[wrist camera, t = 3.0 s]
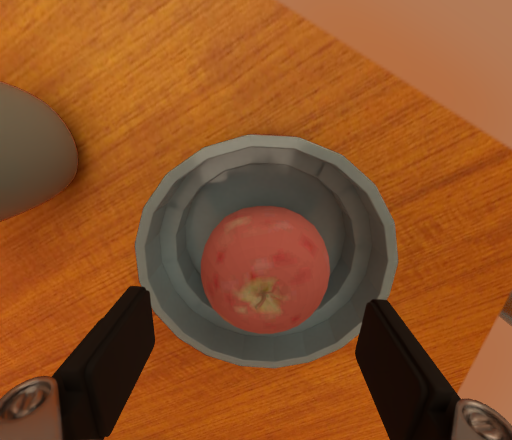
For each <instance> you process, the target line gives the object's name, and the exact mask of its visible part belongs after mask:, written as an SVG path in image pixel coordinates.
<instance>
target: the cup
mask: <svg viewBox="0 0 512 440" xmlns="http://www.w3.org/2000/svg"><path fill="white" fill-rule="evenodd" d="M78 164H79V157H78V150H77V146H76V143H75V140H74V138H73V136H72V133H71V132H70V130H69V128H68V127H67V125H66V123H65V122H64V121H63V120H62V118H61V117H60V116H59V115H58V114H57V113H56V112H55V111H54V110H53V109H52V108H51V107H50V106H49V105H47V104H46V103H45V102H44V101H42V100H40V99H39V98H37V97H36V96H34V95H32V94H31V93H29V92H27V91H25V90H22V89H20V88H18V87H15V86H12V85H10V84H7V83H4V82H2V81H0V222H1V221H4V220H7V219H9V218H12V217H14V216H17V215H19V214H22V213H24V212H26V211H28V210H31V209H33V208H35V207H37V206H39V205H42V204H43V203H45V202H47V201H49V200H51V199H52V198H54V197H55V196H57V195H58V194H60V193H61V192H62V191H63V190H65V189H66V188H67V187H68V186H69V184H70V183H71V182H72V181H73V179H74V177H75V175H76V172H77V170H78Z"/></svg>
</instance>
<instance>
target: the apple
mask: <svg viewBox="0 0 512 440" xmlns="http://www.w3.org/2000/svg"><path fill="white" fill-rule="evenodd" d="M329 275H330V265H329V256H328V252H327V249H326V246H325V243H324V240H323V239H322V237H321V236H320V234H319V232H318V231H317V229H316V228H315V226H314V225H313V224H311V223H310V222H309V221H308V220H306V219H305V218H304V217H303V216H301V215H300V214H298V213H296V212H293V211H291V210H289V209H286V208H284V207H276V206H255V207H248V208H243V209H240V210H238V211H236V212H234V213H232V214H229V215H227V216H226V217H225V218H224V219H223V220H222V221H221V222H220V223H219V224H218V225H217V226H216V227H215V229H214V230H213V231H212V233H211V234H210V236H209V238H208V240H207V242H206V244H205V247H204V251H203V255H202V259H201V280H202V284H203V288H204V292H205V294H206V297H207V298H208V300H209V302H210V304H211V306H212V308H213V309H214V310H215V311H216V312H217V313H218V314H219V315H220V316H221V317H222V318H223V319H224V320H225V321H227V322H228V323H230V324H232V325H233V326H235V327H237V328H240V329H242V330H245V331H248V332H253V333H258V334H273V333H278V332H283V331H287V330H289V329H291V328H294V327H296V326H298V325H300V324H301V323H302V322H304V321H305V320H306V319H308V318H309V317H310V316H311V315H312V314H313V312H314V311H315V310H316V309H317V307H318V306H319V305H320V303H321V301H322V299H323V296H324V294H325V292H326V290H327V287H328V281H329Z"/></svg>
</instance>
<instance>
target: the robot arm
mask: <svg viewBox="0 0 512 440" xmlns="http://www.w3.org/2000/svg"><path fill="white" fill-rule="evenodd" d="M154 344H155V335H154V326H153V317H152V308H151V299H150V292H149V291H148V290H146V288H145V287H139V286H130V287H129V288H128V289H127V290H126V291H125V293H124V294H123V295H122V296H121V297H120V299H119V300H118V301H117V302H116V303H115V304H114V306H113V307H112V308H111V309H110V310H109V312H108V313H107V314H106V315H105V316H104V318H102V319H101V320H100V321H99V322H98V323H97V324H96V325H95V326H94V327H93V329H92V330H91V331H90V332H89V333H88V334H87V336H86V337H85V338H84V339H83V340H82V342H81V343H80V344H79V345H78V346H77V347H76V349H75V350H74V351H73V352H72V353H71V354H70V356H69V357H68V358H67V359H66V360H65V362H64V363H63V364H62V365H61V366H60V367H59V369H58V370H57V371H56V372H55V373H54V374H53V376H52V377H50V376H40V377H35V378H32V379H29V380H26V381H24V382H22V383H21V384H19V385H17V386H15V387H14V388H13V389H11V390H10V391H8V392H7V393H6V394H5V395H4V396H3V397H2V398H1V399H0V440H103V439H104V437H108V436H109V435H110V434H111V432H112V430H113V428H114V426H115V424H116V422H117V420H118V418H119V416H120V414H121V412H122V410H123V408H124V406H125V404H126V402H127V400H128V398H129V396H130V394H131V392H132V390H133V388H134V386H135V384H136V382H137V380H138V378H139V376H140V374H141V372H142V370H143V368H144V366H145V364H146V362H147V360H148V358H149V356H150V354H151V352H152V350H153V347H154ZM355 355H356V359H357V362H358V364H359V367H360V369H361V371H362V374H363V376H364V379H365V381H366V383H367V386H368V388H369V391H370V393H371V395H372V398H373V400H374V403H375V405H376V407H377V410H378V412H379V415H380V417H381V419H382V422H383V424H384V427H385V429H386V431H387V434H388V436H389V439H390V440H512V426H511V424H510V423H509V422H508V421H507V420H506V419H505V418H504V417H503V416H501V415H500V414H499V413H498V412H497V411H495V410H494V409H492V408H490V407H489V406H487V405H486V404H483V403H481V402H479V401H476V400H472V399H460V397H459V396H458V395H457V393H456V392H455V390H454V389H453V388H452V386H451V385H450V384H449V382H448V381H447V380H446V378H445V377H444V376H443V374H442V373H441V372H440V370H439V369H438V368H437V366H436V365H435V364H434V362H433V361H432V359H431V358H430V357H429V355H428V354H427V353H426V351H425V350H424V349H423V347H422V346H421V345H420V343H419V342H418V341H417V339H416V338H415V337H414V335H413V334H412V333H411V331H410V330H409V329H408V327H407V326H406V325H405V323H404V322H403V320H402V319H401V318H400V316H399V315H398V314H397V312H396V311H395V310H394V308H393V307H392V306H391V304H390V303H389V302H388V301H387V300H382V299H372V300H371V301H370V302H368V303H367V304H366V308H365V312H364V316H363V320H362V324H361V329H360V333H359V337H358V341H357V345H356V350H355Z"/></svg>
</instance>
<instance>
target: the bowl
mask: <svg viewBox="0 0 512 440" xmlns="http://www.w3.org/2000/svg"><path fill="white" fill-rule="evenodd" d="M255 206H276V207H284V208H286V209H289V210H291V211H293V212H296V213H298V214H300V215H301V216H303V217H304V218H305V219H306V220H308V221H309V222H310V223H311V224H313V225H314V226H315V228H316V229H317V231H318V232H319V234H320V236H321V237H322V239H323V240H324V243H325V246H326V249H327V252H328V256H329V265H330V275H329V281H328V287H327V290H326V292H325V294H324V296H323V299H322V301H321V303H320V305H319V306H318V307H317V309H316V310H315V311H314V312H313V314H312V315H311V316H310V317H309V318H308V319H306V320H305V321H304V322H302V323H301V324H300V325H298V326H296V327H294V328H291V329H289V330H287V331H283V332H278V333H273V334H258V333H253V332H248V331H245V330H242V329H240V328H237V327H235V326H233V325H232V324H230V323H228V322H227V321H225V320H224V319H223V318H222V317H221V316H220V315H219V314H218V313H217V312H216V311H215V310H214V309H213V308H212V306H211V304H210V302H209V300H208V298H207V297H206V294H205V292H204V288H203V284H202V280H201V259H202V255H203V251H204V247H205V244H206V242H207V240H208V238H209V236H210V234H211V233H212V231H213V230H214V229H215V227H216V226H217V225H218V224H219V223H220V222H221V221H222V220H223V219H224V218H225V217H226V216H227V215H229V214H232V213H234V212H236V211H238V210H240V209H243V208H248V207H255ZM135 252H136V260H137V268H138V276H139V282H140V284H141V286H142V287H145V288H146V290H148V291H149V292H150V299H151V307H152V309H153V311H154V312H155V313H156V315H157V316H158V317H159V318H160V319H161V320H162V321H163V322H164V323H165V324H166V325H167V326H168V327H169V328H170V330H171V331H172V332H173V333H174V334H175V335H176V336H177V337H178V338H179V339H181V340H182V341H184V342H186V343H187V344H189V345H191V346H192V347H194V348H195V349H197V350H199V351H200V352H202V353H204V354H205V355H208V356H210V357H213V358H217V359H220V360H223V361H226V362H229V363H233V364H236V365H239V366H248V367H263V368H279V367H285V366H290V365H296V364H302V363H308V362H311V361H313V360H316V359H318V358H320V357H322V356H325V355H327V354H329V353H331V352H334V351H336V350H338V349H340V348H342V347H344V346H345V345H346V344H347V343H348V342H350V341H351V340H352V339H353V338H355V337H356V336H357V335H358V334H359V333H360V329H361V324H362V320H363V316H364V312H365V308H366V304H367V303H368V302H370V301H371V300H372V299H382V300H387V298H388V296H389V294H390V290H391V287H392V283H393V279H394V276H395V272H396V268H397V264H398V253H397V243H396V232H395V223H394V220H393V218H392V216H391V214H390V212H389V210H388V208H387V206H386V204H385V202H384V200H383V198H382V196H381V195H380V193H379V191H378V189H377V187H376V186H375V184H374V183H373V182H372V181H371V180H370V179H368V178H367V177H366V176H365V175H364V174H363V173H362V172H361V171H360V170H359V169H357V168H356V167H355V166H354V165H353V164H352V163H351V162H350V161H349V160H348V159H346V158H345V157H344V156H343V155H341V154H339V153H336V152H334V151H332V150H329V149H327V148H324V147H322V146H319V145H317V144H314V143H312V142H310V141H307V140H305V139H302V138H300V137H295V136H289V135H271V134H248V135H245V136H241V137H238V138H234V139H231V140H227V141H224V142H220V143H217V144H213V145H210V146H207V147H204V148H202V149H200V150H199V151H198V152H196V153H195V154H193V155H192V156H191V157H189V158H188V159H186V160H185V161H184V162H182V163H181V164H179V165H178V166H177V167H175V168H174V169H172V170H171V171H170V172H168V173H167V174H166V175H165V177H164V178H163V180H162V181H161V183H160V184H159V185H158V187H157V188H156V190H155V191H154V193H153V194H152V196H151V197H150V199H149V200H148V202H147V203H146V205H145V206H144V208H143V212H142V216H141V220H140V224H139V228H138V233H137V237H136V241H135Z"/></svg>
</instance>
